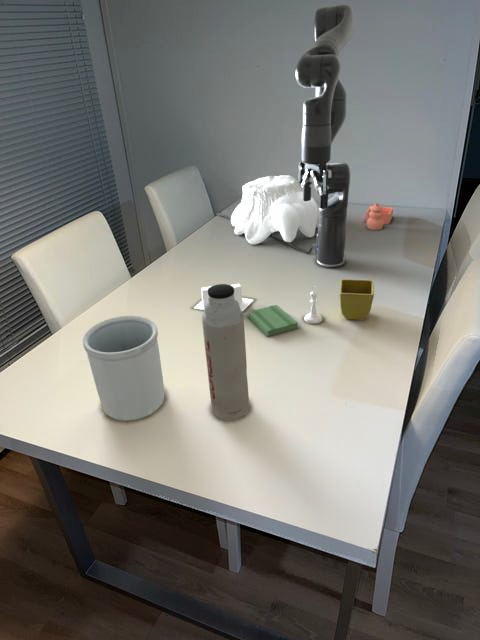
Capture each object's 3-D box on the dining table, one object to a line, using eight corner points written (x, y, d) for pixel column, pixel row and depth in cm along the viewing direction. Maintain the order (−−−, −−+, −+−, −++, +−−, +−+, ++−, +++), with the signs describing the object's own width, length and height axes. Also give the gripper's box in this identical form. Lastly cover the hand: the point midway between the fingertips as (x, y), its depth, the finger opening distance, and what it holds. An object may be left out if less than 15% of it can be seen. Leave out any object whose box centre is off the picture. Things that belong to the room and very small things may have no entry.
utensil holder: (170, 416, 102) (159, 345, 93) (98, 429, 100) (79, 358, 91) (165, 376, 115) (154, 311, 106) (100, 387, 112) (84, 321, 104)
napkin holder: (192, 308, 144) (190, 291, 141) (210, 292, 153) (209, 275, 150) (238, 316, 138) (237, 298, 135) (254, 299, 147) (253, 282, 144)
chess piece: (323, 316, 136) (324, 283, 131) (320, 324, 132) (321, 291, 127) (306, 314, 137) (306, 281, 132) (302, 322, 133) (302, 289, 128)
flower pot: (371, 324, 130) (374, 294, 126) (338, 322, 132) (339, 293, 127) (370, 309, 138) (373, 280, 133) (339, 307, 139) (340, 278, 135)
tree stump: (266, 220, 226) (258, 170, 217) (338, 219, 204) (332, 164, 195) (213, 251, 199) (201, 195, 189) (289, 254, 177) (280, 192, 168)
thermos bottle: (212, 421, 100) (198, 300, 86) (211, 397, 107) (198, 281, 93) (251, 418, 100) (243, 296, 86) (247, 394, 107) (240, 278, 93)
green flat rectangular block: (248, 317, 137) (248, 311, 137) (276, 309, 140) (276, 304, 140) (267, 336, 128) (267, 330, 127) (297, 327, 131) (297, 322, 130)
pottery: (369, 215, 210) (371, 192, 205) (392, 217, 206) (394, 194, 201) (361, 229, 196) (362, 205, 191) (385, 231, 192) (387, 206, 187)
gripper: (344, 144, 121) (341, 208, 129) (314, 137, 133) (312, 196, 141) (318, 148, 119) (316, 213, 127) (290, 140, 130) (290, 200, 138)
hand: (314, 204), depth 134 cm, fingers open, 8 cm apart
